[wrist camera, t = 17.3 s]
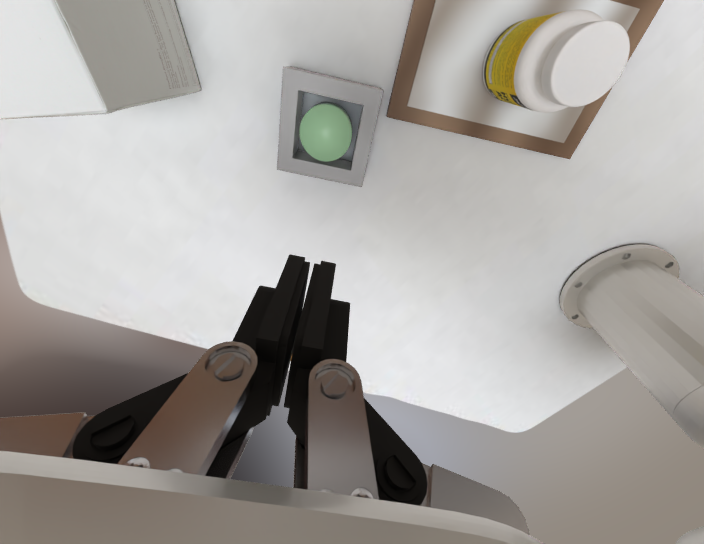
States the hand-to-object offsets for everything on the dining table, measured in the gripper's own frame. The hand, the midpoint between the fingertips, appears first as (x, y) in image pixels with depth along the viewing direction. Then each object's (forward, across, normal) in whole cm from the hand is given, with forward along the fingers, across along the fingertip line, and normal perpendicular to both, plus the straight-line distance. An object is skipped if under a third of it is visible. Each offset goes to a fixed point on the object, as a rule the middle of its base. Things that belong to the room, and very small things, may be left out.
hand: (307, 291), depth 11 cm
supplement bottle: (+22, -12, -10) cm, 27 cm away
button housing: (+22, +2, -2) cm, 23 cm away
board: (+23, -12, -10) cm, 28 cm away
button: (+21, +2, -2) cm, 21 cm away
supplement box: (+22, +18, -4) cm, 29 cm away
